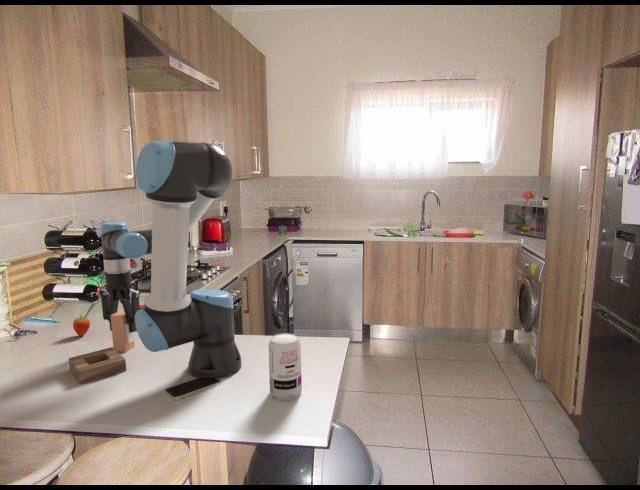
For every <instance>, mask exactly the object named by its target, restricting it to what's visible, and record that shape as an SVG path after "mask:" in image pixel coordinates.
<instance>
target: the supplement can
mask: <svg viewBox="0 0 640 490" xmlns="http://www.w3.org/2000/svg"><path fill="white" fill-rule="evenodd" d="M268 369H269V371H268V372H269V374H268V375H269V393H270V395H271V396H272V397H273V398H274V399H276V398H277V399H276V400H279V399H280V400H279V401H289V399H290V400H293V398H294V399H296V398H297V397H298V396H299V395H300V394H301V393H302V390H303V389H302V388H303V387H302V385H303V384H302V382H303V381H302V343H301V340H300V338H299V336H298V335H296V334H294V333H286V332H285V333H277V334H275V335H273V336H271V338H270V341H269V343H268Z"/></svg>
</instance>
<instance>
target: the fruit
mask: <svg viewBox="0 0 640 490" xmlns="http://www.w3.org/2000/svg"><path fill="white" fill-rule="evenodd" d="M72 318H73V319H75V320H74V321H73V323H72V326H73V330H74V332H75V333H76V334H77V336H79V337H82V336H85V335H86V334H87V332H88V331H89V329H90V327H91V322H90V319H88V314H86V315H84V316H83V315H81V313H80V314H79V317H74V316H73V317H72Z"/></svg>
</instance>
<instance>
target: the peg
mask: <svg viewBox="0 0 640 490" xmlns="http://www.w3.org/2000/svg"><path fill="white" fill-rule="evenodd" d="M126 323H127V319H126V315H125V312H124V310H118V311H117V312H116V313H114V314H112V315H111V326H112V331H111V337H112V347H113V348H114V349H115V350H116V351H117V352H121V353H123V352H124V353H127V352H128V351H130V350H132V349H133V348H135V347H136V345H135V340H134V341H132V342H130V343H127V337H126V325H125V324H126Z"/></svg>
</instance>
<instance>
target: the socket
mask: <svg viewBox="0 0 640 490" xmlns="http://www.w3.org/2000/svg"><path fill="white" fill-rule="evenodd" d="M68 366H69V370H70V371H71V373H72V375H73V376H74V377H75V378H76V380H77V381H78V382H79V384H80V385H83V384H86V383H88V382H92V381H95V380H98V379H102V378H105V377H109V376H113V375H116V374H119V373H122V372H123V373H124V372H126V371H127V362H126V358H125V357H123V356H122V355H121V353H119V351H116V350H115V349H114V348H113V346H112V347H111V346H110V347H107V348H104V349H99V350H95V351H92V352H88V353H84V354H80V355H75V356H73V357H69V358H68Z"/></svg>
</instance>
